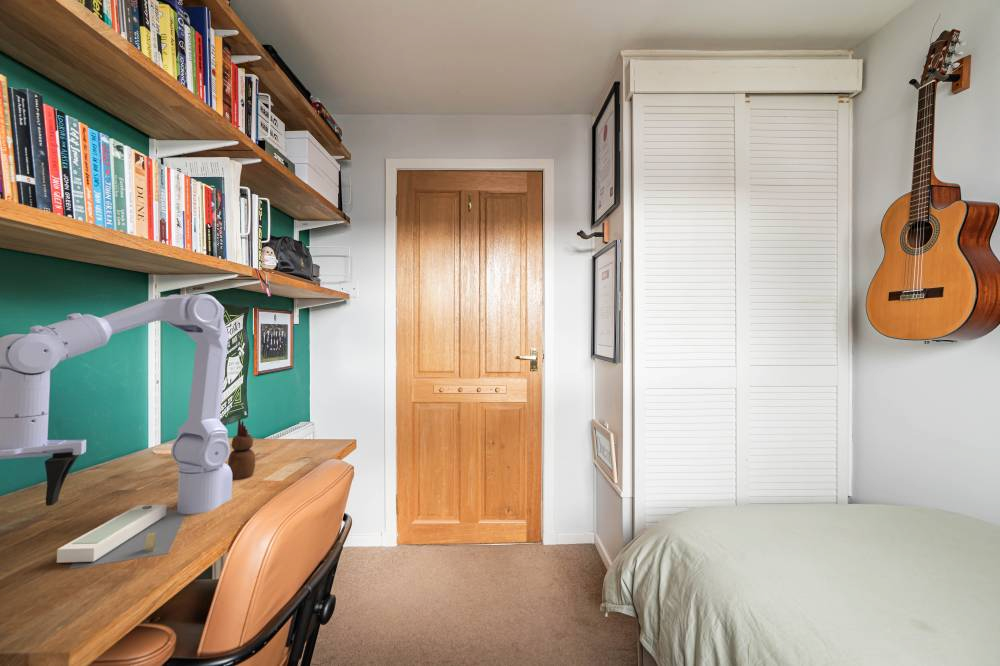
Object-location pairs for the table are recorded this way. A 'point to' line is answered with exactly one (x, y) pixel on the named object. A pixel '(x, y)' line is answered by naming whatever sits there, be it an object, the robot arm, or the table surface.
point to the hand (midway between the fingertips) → (17, 507)
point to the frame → (110, 534)
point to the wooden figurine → (242, 454)
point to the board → (143, 541)
